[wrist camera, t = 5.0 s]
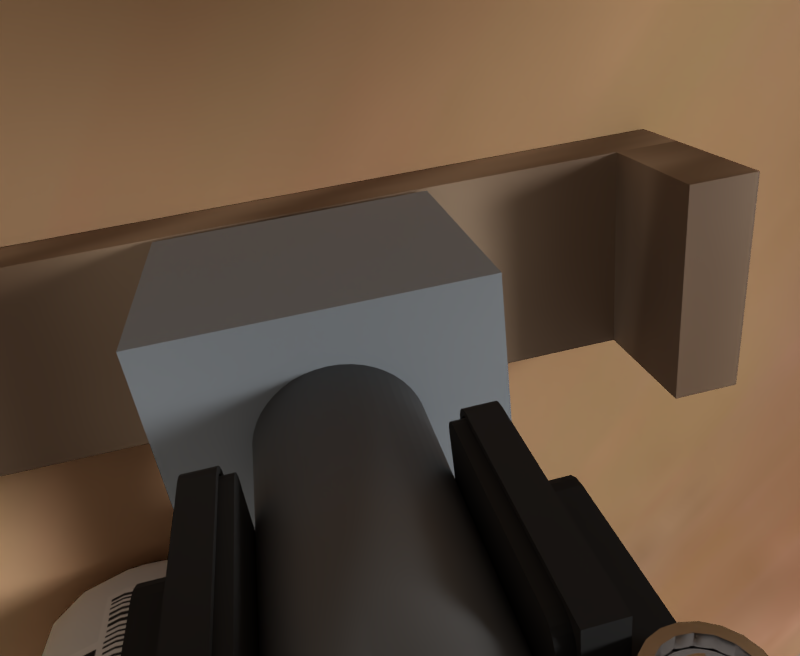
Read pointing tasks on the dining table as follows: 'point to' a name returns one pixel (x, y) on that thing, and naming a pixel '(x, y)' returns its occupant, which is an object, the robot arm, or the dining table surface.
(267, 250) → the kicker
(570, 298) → the rail
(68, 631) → the supplement can
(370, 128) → the dining table surface
